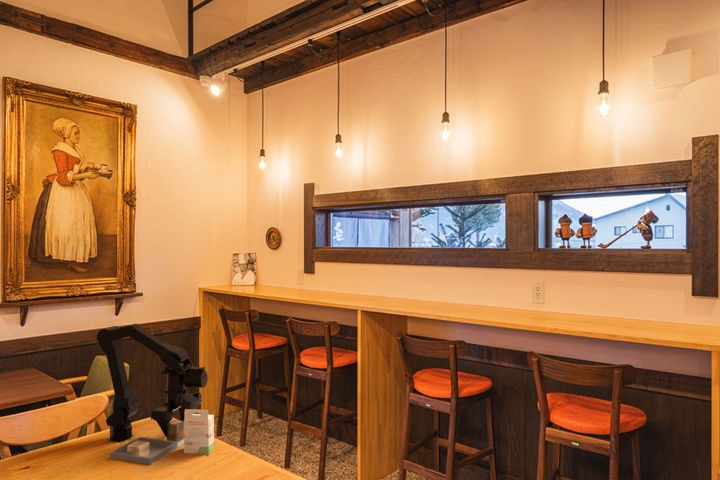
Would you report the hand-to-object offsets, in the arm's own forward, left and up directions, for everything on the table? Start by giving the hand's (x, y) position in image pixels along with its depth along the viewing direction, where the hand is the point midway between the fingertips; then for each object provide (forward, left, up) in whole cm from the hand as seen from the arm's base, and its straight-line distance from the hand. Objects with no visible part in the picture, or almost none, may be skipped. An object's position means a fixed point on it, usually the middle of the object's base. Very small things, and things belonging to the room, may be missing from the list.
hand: (175, 431), depth 168 cm
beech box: (-3, -14, -3) cm, 15 cm away
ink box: (+13, -4, -4) cm, 14 cm away
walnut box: (0, 0, -3) cm, 3 cm away
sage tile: (0, 0, -4) cm, 4 cm away
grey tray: (-3, -11, -4) cm, 12 cm away
